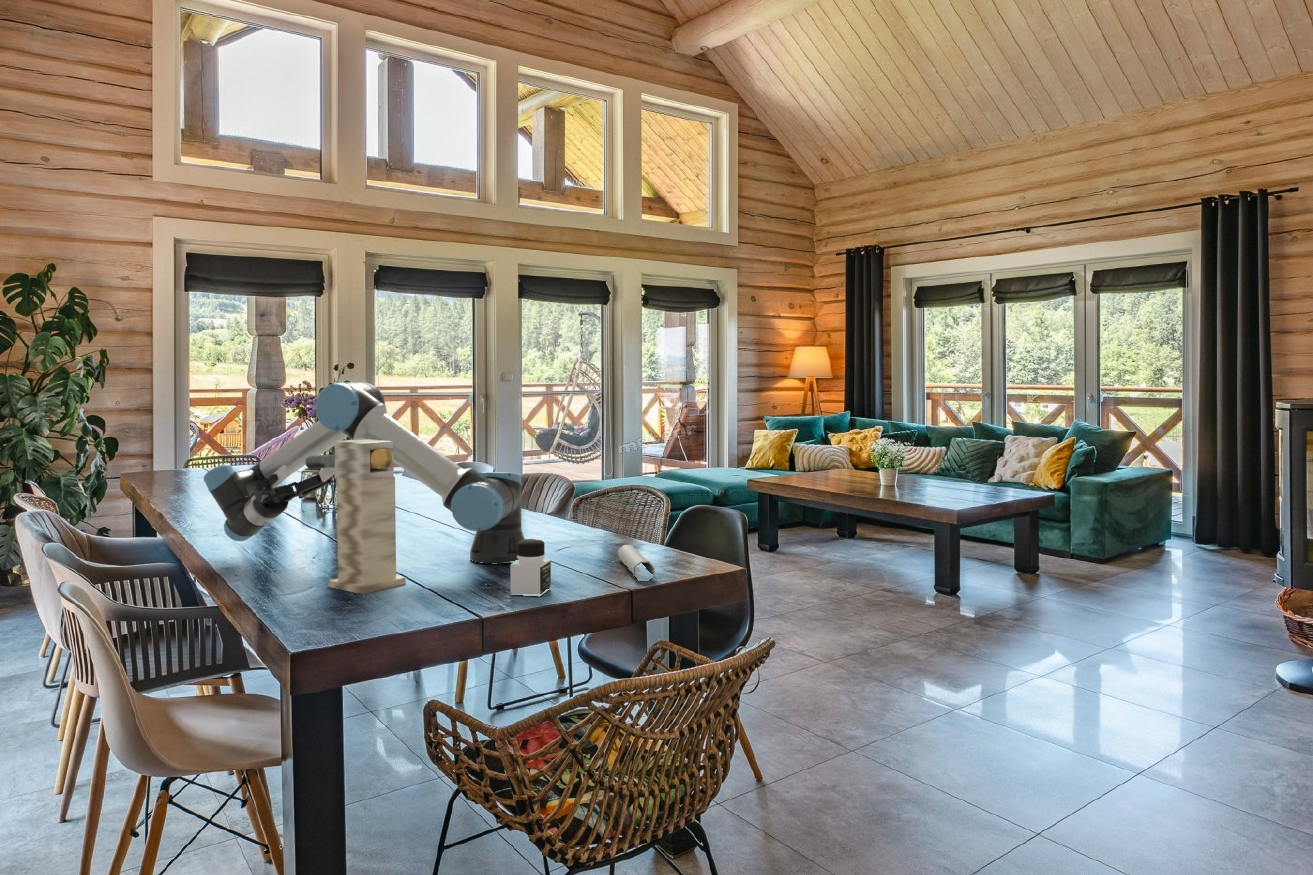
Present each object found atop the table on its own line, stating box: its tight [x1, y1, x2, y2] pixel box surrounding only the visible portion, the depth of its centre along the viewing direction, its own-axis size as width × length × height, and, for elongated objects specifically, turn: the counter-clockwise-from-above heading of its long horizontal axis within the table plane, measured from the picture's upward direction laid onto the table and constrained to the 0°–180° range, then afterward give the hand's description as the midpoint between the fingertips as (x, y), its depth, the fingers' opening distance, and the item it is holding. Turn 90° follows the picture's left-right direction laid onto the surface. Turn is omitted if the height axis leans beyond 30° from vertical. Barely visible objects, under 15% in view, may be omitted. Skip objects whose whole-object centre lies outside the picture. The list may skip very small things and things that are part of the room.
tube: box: [617, 544, 656, 577], centre depth 221 cm, size 5×5×25 cm
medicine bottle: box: [509, 538, 552, 594], centre depth 197 cm, size 7×7×12 cm
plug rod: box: [305, 449, 392, 470], centre depth 204 cm, size 26×4×4 cm, turn 57°
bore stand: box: [327, 439, 407, 595], centre depth 201 cm, size 12×12×33 cm
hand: (312, 467), depth 210 cm, fingers open, 13 cm apart
